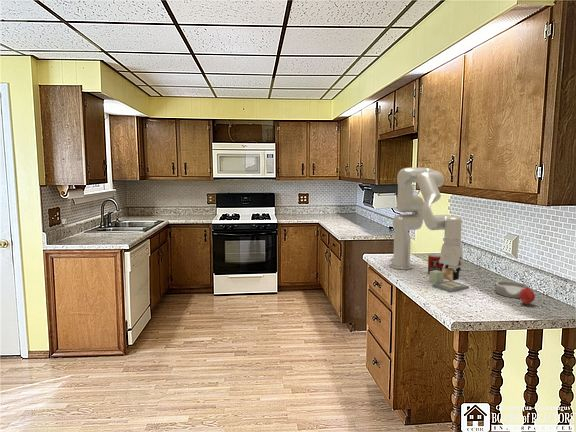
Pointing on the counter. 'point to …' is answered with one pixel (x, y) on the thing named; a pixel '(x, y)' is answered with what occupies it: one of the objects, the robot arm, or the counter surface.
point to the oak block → (448, 274)
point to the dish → (509, 288)
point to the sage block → (436, 276)
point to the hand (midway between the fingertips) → (450, 277)
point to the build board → (450, 286)
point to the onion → (527, 295)
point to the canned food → (434, 262)
